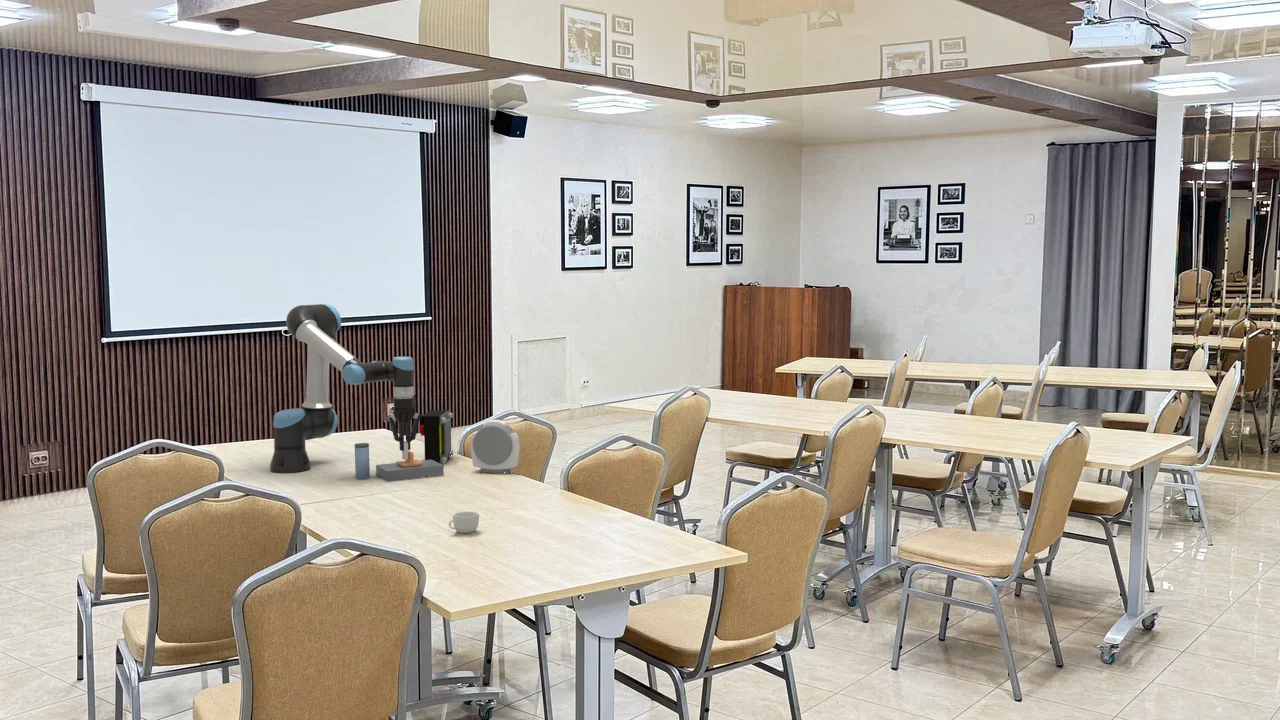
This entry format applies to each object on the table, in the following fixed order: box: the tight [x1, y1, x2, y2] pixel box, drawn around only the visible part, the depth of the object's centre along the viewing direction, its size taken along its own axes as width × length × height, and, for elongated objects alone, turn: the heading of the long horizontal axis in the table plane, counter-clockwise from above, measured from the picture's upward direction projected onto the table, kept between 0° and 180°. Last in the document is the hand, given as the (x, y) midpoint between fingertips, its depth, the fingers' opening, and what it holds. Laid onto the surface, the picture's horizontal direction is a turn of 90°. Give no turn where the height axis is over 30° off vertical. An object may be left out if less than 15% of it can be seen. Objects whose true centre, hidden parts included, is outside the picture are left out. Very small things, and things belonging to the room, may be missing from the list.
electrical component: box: [419, 409, 454, 465], centre depth 429 cm, size 18×10×20 cm, turn 179°
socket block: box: [375, 459, 445, 482], centre depth 400 cm, size 14×22×4 cm, turn 120°
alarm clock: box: [470, 419, 521, 475], centre depth 406 cm, size 18×8×20 cm, turn 80°
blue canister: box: [354, 442, 371, 480], centre depth 395 cm, size 5×5×13 cm
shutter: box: [395, 450, 423, 467], centre depth 400 cm, size 8×8×5 cm
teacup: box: [448, 510, 480, 534], centre depth 314 cm, size 10×8×5 cm
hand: (405, 458), depth 399 cm, fingers closed
